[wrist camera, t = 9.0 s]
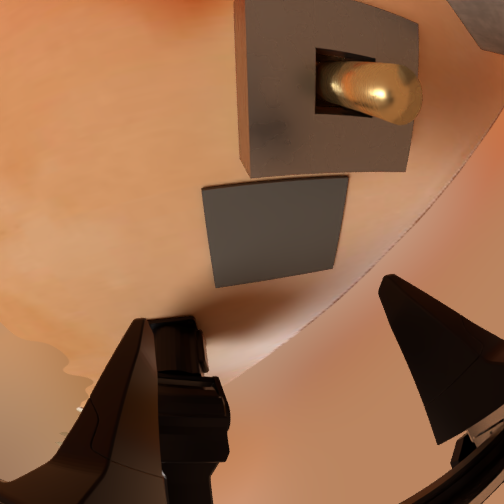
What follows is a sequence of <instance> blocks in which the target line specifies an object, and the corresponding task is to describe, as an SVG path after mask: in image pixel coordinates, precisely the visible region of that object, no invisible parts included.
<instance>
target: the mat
mask: <svg viewBox="0 0 504 504" xmlns="http://www.w3.org/2000/svg"><path fill="white" fill-rule="evenodd" d="M347 185H348V177H347V176H334V177H314V178H299V179H285V180H273V181H262V182H252V183H242V184H234V185H225V186H217V187H209V188H202V198H203V206H204V213H205V221H206V228H207V235H208V242H209V249H210V255H211V262H212V268H213V275H214V281H215V287H216V288H220V287H227V286H233V285H240V284H246V283H253V282H259V281H265V280H271V279H277V278H283V277H289V276H294V275H300V274H306V273H311V272H317V271H323V270H328V269H333V265H334V260H335V255H336V250H337V245H338V240H339V234H340V229H341V223H342V217H343V211H344V205H345V198H346V192H347Z"/></svg>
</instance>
